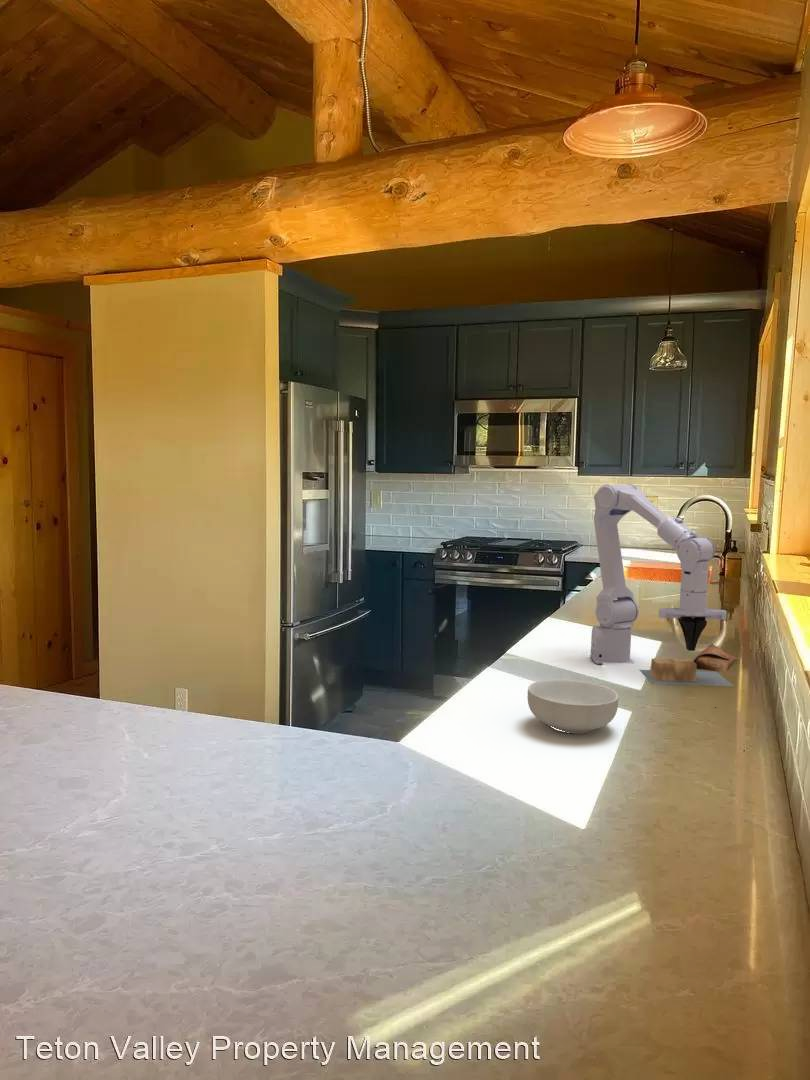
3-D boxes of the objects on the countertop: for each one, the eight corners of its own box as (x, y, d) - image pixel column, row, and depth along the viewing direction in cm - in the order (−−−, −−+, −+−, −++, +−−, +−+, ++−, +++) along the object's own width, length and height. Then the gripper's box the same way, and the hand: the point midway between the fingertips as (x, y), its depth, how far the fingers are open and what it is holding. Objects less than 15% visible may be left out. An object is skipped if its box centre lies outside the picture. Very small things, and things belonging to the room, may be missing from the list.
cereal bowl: (619, 746, 140) (621, 707, 140) (524, 738, 144) (525, 700, 143) (614, 716, 157) (616, 681, 156) (528, 709, 160) (529, 675, 159)
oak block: (695, 681, 181) (655, 680, 181) (690, 676, 185) (650, 675, 185) (696, 664, 180) (656, 663, 181) (691, 659, 184) (651, 658, 185)
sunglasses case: (728, 675, 188) (714, 649, 189) (701, 686, 192) (687, 661, 193) (740, 659, 204) (727, 635, 205) (714, 670, 207) (702, 646, 208)
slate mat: (652, 686, 178) (652, 683, 178) (638, 672, 190) (638, 669, 190) (734, 688, 177) (734, 686, 177) (715, 674, 189) (715, 671, 189)
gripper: (666, 592, 177) (663, 653, 178) (732, 594, 176) (729, 654, 178) (657, 587, 184) (654, 645, 185) (721, 589, 183) (718, 647, 185)
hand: (690, 649), depth 182 cm, fingers closed
